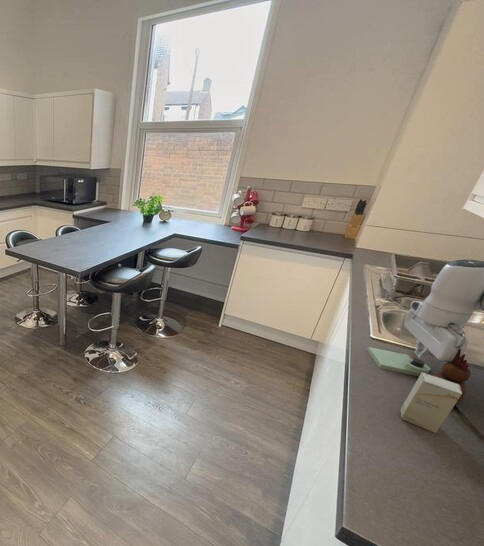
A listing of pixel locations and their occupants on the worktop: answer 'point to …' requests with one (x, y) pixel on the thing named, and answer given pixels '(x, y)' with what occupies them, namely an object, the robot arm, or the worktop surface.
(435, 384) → the cosmetic box
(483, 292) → the robot arm
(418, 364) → the tare button
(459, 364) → the wooden figurine
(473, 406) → the worktop surface
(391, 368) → the kitchen scale
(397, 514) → the worktop surface
